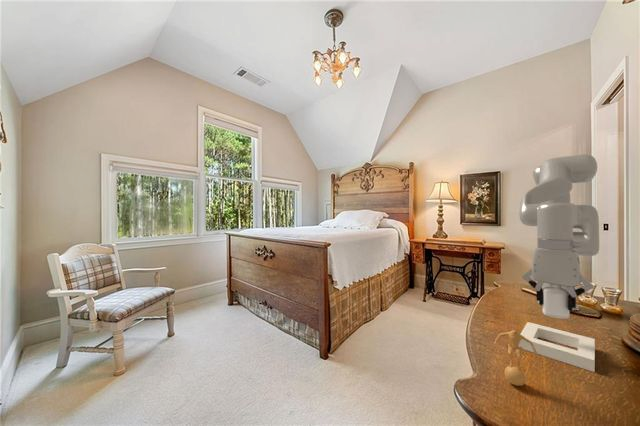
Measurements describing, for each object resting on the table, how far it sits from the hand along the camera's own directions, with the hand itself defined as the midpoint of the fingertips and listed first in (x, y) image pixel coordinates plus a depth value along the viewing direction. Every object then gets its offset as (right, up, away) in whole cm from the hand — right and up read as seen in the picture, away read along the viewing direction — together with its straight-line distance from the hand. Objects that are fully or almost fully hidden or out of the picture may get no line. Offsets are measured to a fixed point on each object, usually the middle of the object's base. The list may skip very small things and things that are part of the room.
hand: (555, 305), depth 71 cm
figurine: (-23, -13, -13) cm, 29 cm away
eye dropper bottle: (0, -3, 0) cm, 3 cm away
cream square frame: (0, -13, 0) cm, 13 cm away
